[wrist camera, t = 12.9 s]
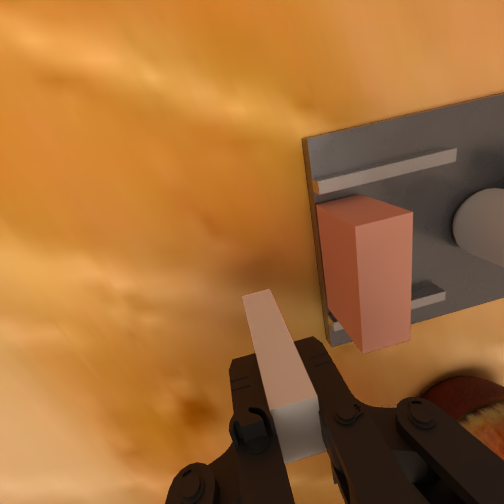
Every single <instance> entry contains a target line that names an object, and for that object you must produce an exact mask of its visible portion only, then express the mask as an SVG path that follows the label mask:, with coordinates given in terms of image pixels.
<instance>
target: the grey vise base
mask: <svg viewBox="0 0 504 504" xmlns="http://www.w3.org/2000/svg"><path fill="white" fill-rule="evenodd" d="M302 145H303V153H304V161H305V169H306V177H307V185H308V193H309V201H310V209H311V217H312V225H313V233H314V241H315V250H316V258H317V266H318V274H319V282H320V290H321V298H322V306H323V314H324V322H325V330H326V338H327V341H328V342H329V344H330V345H331V347H335V346H338V345H341V344H345V343H348V342H352V341H353V340H352V339H351V338H350V336H349V335H348V334H347V332H346V331H345V330H344V328H343V327H342V326H341V324H340V323H339V322H338V320H337V319H336V318H335V317H334V315H333V314H332V313H331V311H330V310H329V309H328V304H327V295H326V286H325V278H324V269H323V260H322V252H321V243H320V234H319V226H318V217H317V209H316V205H317V204H321V203H325V202H329V201H333V200H337V199H342V198H346V197H350V196H354V195H358V194H362V195H365V196H368V197H371V198H374V199H377V200H379V201H382V202H385V203H388V204H391V205H394V206H397V207H400V208H403V209H406V210H409V211H412V212H413V237H412V282H411V324H414V323H417V322H421V321H424V320H428V319H431V318H435V317H438V316H442V315H445V314H449V313H452V312H455V311H459V310H462V309H466V308H469V307H473V306H476V305H480V304H483V303H487V302H490V301H493V300H497V299H500V298H504V267H501V266H499V265H497V264H494V263H492V262H489V261H487V260H485V259H482V258H480V257H478V256H475V255H473V254H471V253H468V252H466V251H464V250H462V249H461V248H460V247H459V246H458V244H457V243H456V240H455V237H454V234H453V227H452V225H453V219H454V216H455V214H456V212H457V210H458V209H459V207H460V206H461V205H462V204H463V203H464V202H465V201H466V199H468V198H469V197H471V196H472V195H474V194H475V193H477V192H479V191H482V190H485V189H490V188H499V189H504V93H500V94H496V95H491V96H487V97H483V98H478V99H474V100H469V101H465V102H461V103H456V104H452V105H448V106H443V107H439V108H434V109H430V110H426V111H421V112H417V113H412V114H408V115H404V116H399V117H395V118H390V119H386V120H382V121H377V122H373V123H369V124H364V125H360V126H355V127H351V128H347V129H342V130H338V131H333V132H329V133H325V134H320V135H316V136H311V137H307V138H303V139H302Z"/></svg>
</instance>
